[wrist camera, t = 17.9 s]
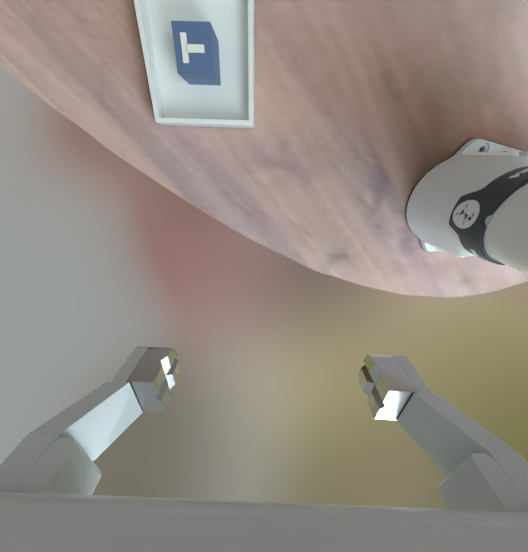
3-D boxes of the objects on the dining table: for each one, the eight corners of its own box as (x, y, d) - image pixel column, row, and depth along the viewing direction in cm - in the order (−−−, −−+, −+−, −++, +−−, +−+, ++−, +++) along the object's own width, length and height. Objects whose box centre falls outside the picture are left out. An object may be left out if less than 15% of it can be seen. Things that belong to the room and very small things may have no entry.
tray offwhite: (254, -10, 26) (253, -28, 24) (254, 128, 33) (252, 125, 31) (142, -13, 26) (128, -32, 24) (164, 125, 33) (155, 122, 31)
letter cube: (218, 41, 28) (209, 21, 24) (220, 85, 30) (213, 73, 26) (184, 40, 28) (170, 19, 24) (189, 84, 30) (177, 72, 26)
